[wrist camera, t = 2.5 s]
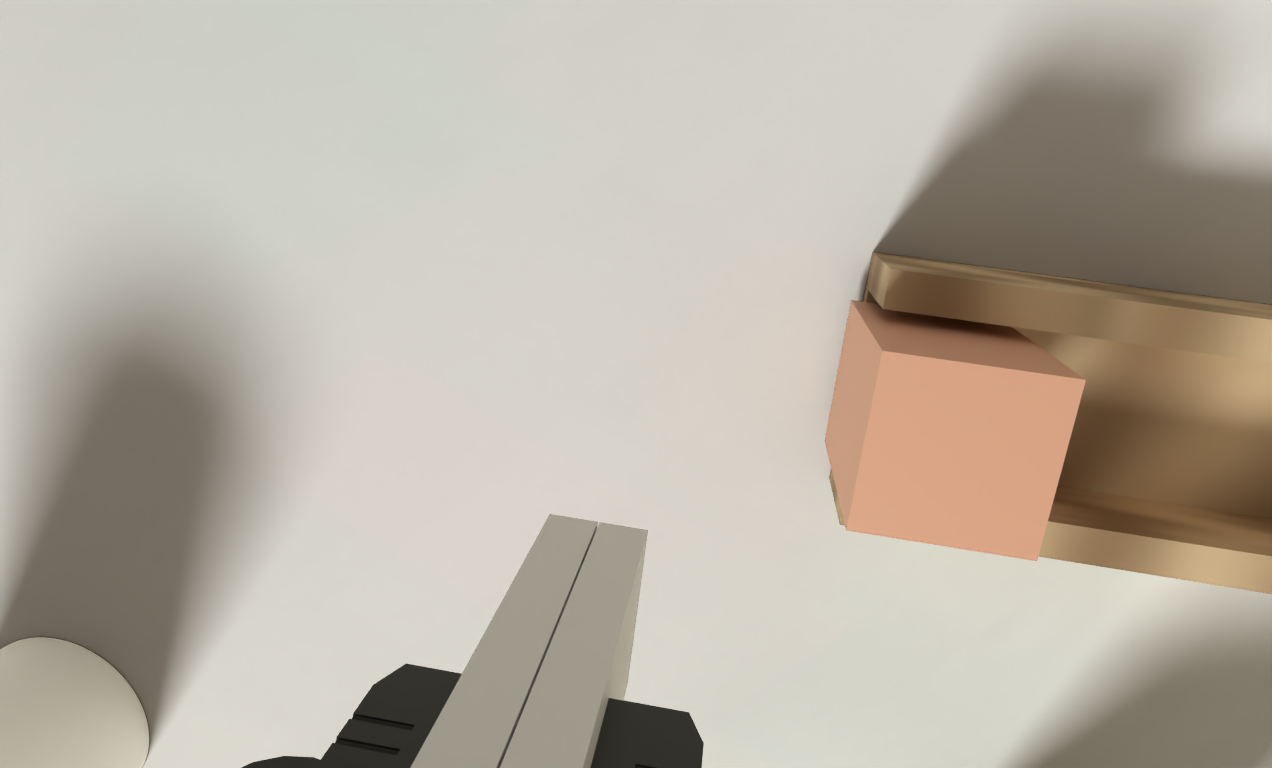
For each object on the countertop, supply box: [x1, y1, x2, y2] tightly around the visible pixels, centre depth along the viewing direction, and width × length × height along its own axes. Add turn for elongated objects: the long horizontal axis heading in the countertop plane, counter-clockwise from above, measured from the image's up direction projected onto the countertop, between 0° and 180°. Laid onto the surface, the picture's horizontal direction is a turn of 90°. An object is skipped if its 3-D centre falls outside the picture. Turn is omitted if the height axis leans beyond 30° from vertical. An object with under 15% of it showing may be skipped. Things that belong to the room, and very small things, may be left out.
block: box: [825, 300, 1086, 561], centre depth 26 cm, size 5×5×8 cm
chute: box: [829, 252, 1272, 594], centre depth 28 cm, size 16×8×4 cm, turn 83°
